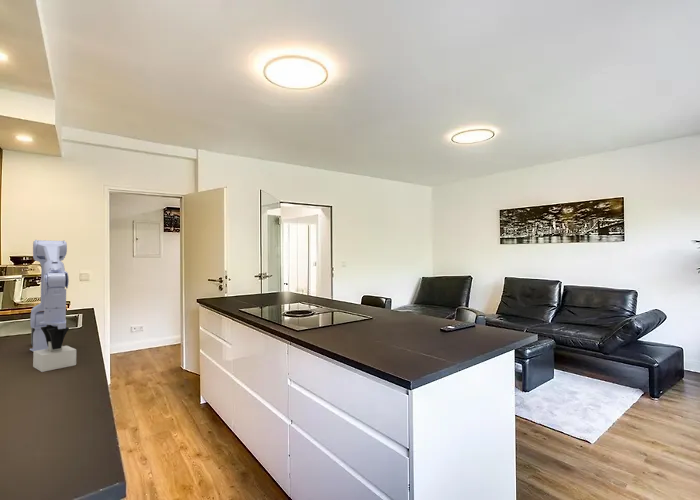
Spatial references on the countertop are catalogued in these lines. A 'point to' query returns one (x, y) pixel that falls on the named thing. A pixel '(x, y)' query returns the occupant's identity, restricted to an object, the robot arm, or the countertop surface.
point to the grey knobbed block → (54, 358)
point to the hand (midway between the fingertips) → (54, 347)
